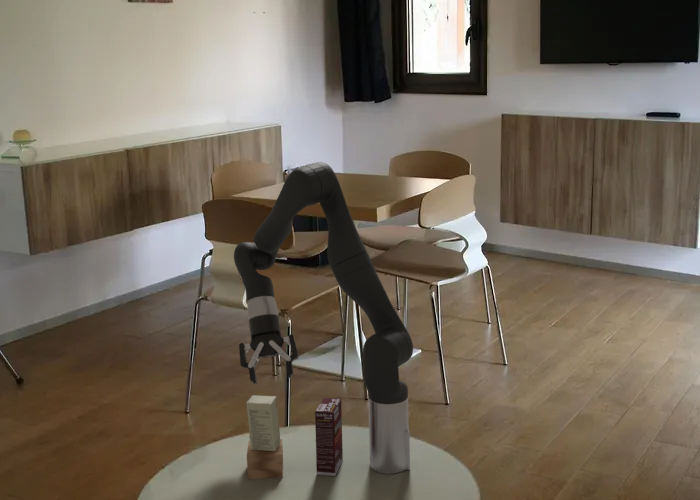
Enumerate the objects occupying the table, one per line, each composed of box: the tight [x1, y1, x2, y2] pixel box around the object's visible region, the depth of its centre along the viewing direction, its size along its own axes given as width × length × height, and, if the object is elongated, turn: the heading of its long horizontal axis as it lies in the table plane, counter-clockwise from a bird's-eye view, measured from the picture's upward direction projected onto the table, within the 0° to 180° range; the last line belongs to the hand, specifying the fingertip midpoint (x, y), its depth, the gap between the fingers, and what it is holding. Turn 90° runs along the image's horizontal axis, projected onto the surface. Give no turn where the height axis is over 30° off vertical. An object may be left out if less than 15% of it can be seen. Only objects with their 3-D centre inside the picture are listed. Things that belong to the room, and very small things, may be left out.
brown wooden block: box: [246, 438, 284, 480], centre depth 206 cm, size 8×8×6 cm
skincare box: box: [246, 394, 281, 451], centre depth 203 cm, size 6×4×12 cm
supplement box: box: [314, 397, 344, 477], centre depth 205 cm, size 9×5×16 cm, turn 168°
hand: (272, 380), depth 215 cm, fingers open, 8 cm apart
